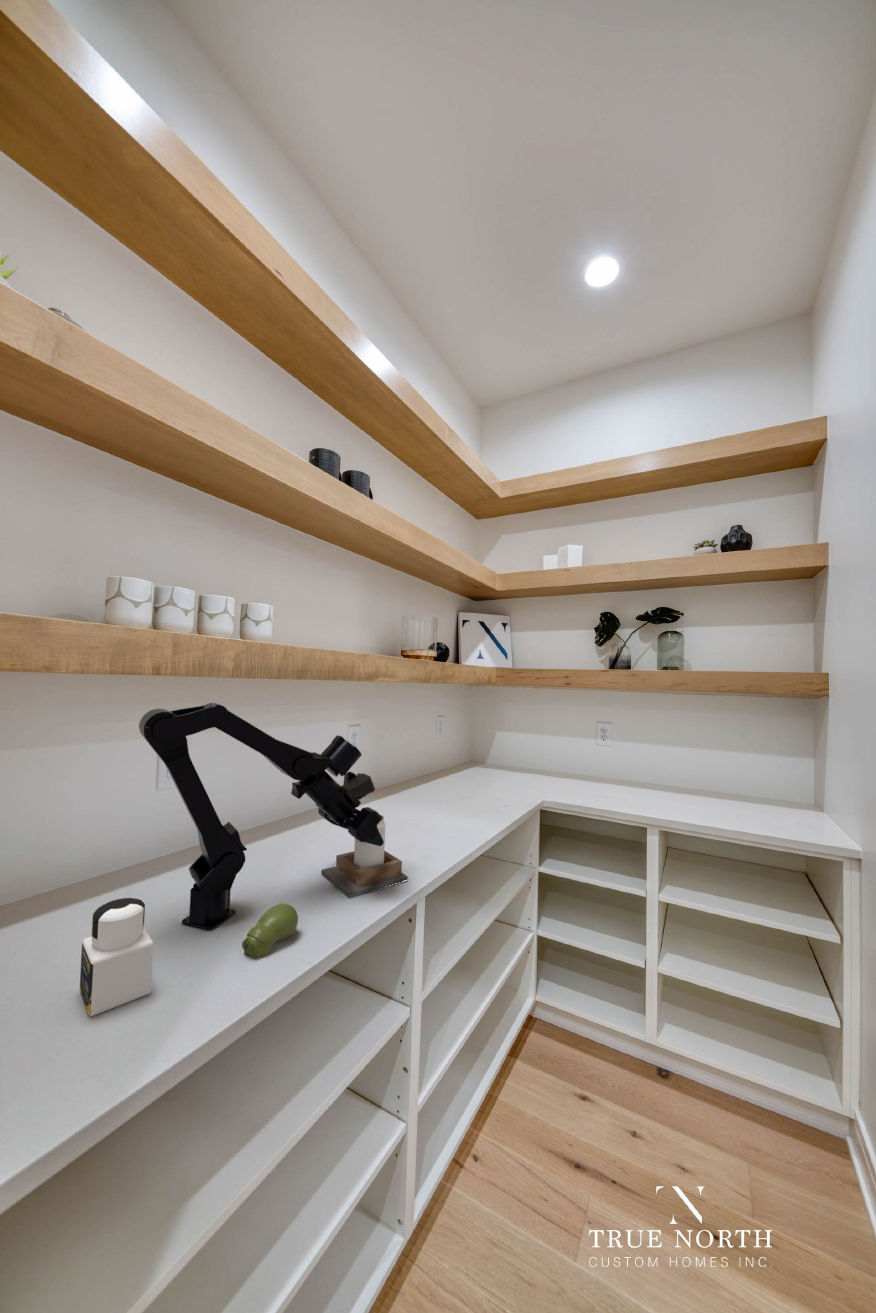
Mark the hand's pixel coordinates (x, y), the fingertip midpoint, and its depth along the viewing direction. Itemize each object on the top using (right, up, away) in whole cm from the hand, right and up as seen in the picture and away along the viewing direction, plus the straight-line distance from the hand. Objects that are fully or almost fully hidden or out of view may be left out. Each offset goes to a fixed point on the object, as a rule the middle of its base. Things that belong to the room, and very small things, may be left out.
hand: (371, 837), depth 107 cm
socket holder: (-1, -8, 0) cm, 8 cm away
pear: (-13, -8, -27) cm, 31 cm away
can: (0, -8, -1) cm, 8 cm away
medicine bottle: (-30, -7, -40) cm, 50 cm away
